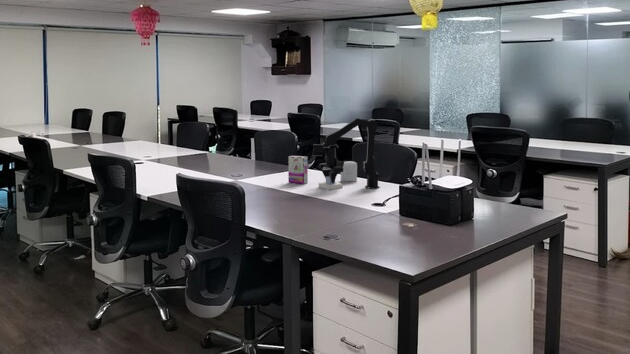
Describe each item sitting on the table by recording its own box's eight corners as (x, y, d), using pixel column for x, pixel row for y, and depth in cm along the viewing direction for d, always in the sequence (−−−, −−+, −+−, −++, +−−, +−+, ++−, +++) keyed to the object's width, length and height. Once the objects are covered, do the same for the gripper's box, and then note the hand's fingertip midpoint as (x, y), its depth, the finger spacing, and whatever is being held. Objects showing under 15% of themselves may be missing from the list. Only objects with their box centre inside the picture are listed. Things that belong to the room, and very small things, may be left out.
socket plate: (342, 187, 342) (342, 182, 342) (327, 189, 337) (328, 184, 337) (332, 185, 351) (332, 180, 350) (318, 186, 346) (318, 181, 345)
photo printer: (356, 180, 367) (356, 160, 365) (357, 181, 363) (357, 161, 361) (339, 180, 366) (340, 161, 363) (341, 181, 361) (341, 162, 359)
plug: (335, 187, 343) (335, 173, 342) (329, 187, 341) (329, 174, 340) (331, 186, 347) (331, 172, 345) (325, 186, 345) (325, 173, 343)
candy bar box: (308, 183, 357) (308, 156, 354) (304, 184, 353) (304, 157, 350) (292, 181, 362) (292, 155, 359) (288, 182, 358) (287, 156, 355)
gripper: (351, 156, 337) (351, 183, 340) (333, 153, 353) (333, 178, 355) (335, 158, 331) (335, 185, 334) (317, 154, 347) (317, 180, 350)
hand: (330, 182), depth 343 cm, fingers open, 5 cm apart
